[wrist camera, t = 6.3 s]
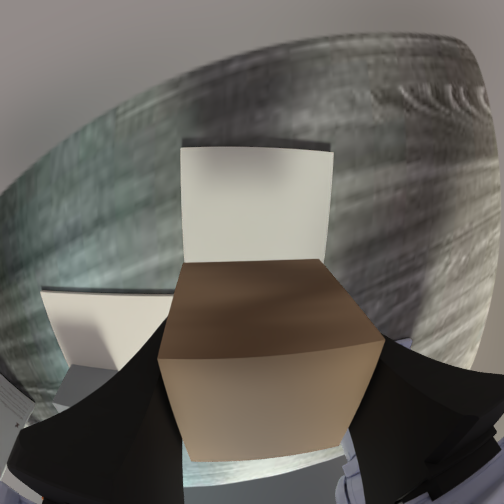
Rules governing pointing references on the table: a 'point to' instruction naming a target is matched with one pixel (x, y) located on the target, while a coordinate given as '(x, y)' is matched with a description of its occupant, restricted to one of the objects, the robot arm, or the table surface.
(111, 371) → the slate block
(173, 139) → the table surface
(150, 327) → the mat
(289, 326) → the walnut block
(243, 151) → the white square plate
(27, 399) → the skincare box
